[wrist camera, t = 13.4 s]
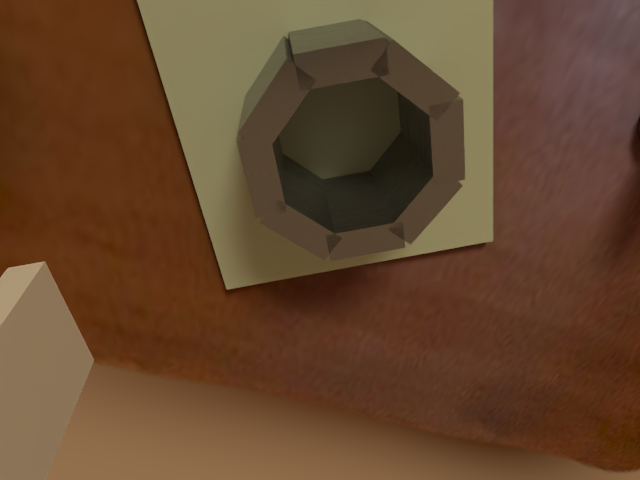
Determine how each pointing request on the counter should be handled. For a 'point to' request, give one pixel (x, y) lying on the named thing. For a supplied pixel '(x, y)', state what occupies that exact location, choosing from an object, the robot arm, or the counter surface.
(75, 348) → the robot arm
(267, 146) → the grey hollow octagonal ring
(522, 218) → the counter surface
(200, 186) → the sage mat
